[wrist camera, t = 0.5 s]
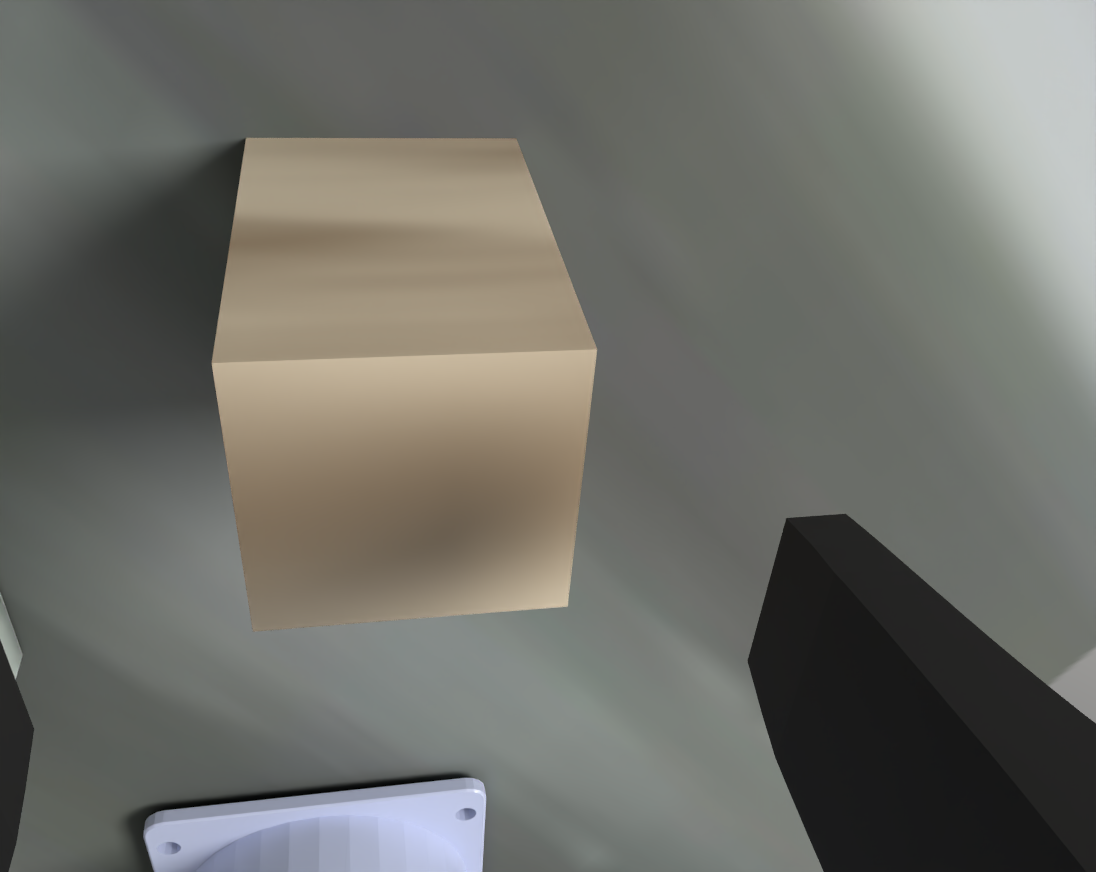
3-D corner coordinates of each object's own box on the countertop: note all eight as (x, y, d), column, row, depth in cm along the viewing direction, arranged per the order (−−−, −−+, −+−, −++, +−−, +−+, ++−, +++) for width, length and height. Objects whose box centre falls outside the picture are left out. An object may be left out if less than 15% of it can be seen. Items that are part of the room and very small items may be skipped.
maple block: (504, 357, 18) (567, 606, 14) (271, 365, 17) (252, 631, 13) (516, 137, 16) (597, 348, 11) (246, 137, 15) (211, 362, 10)
